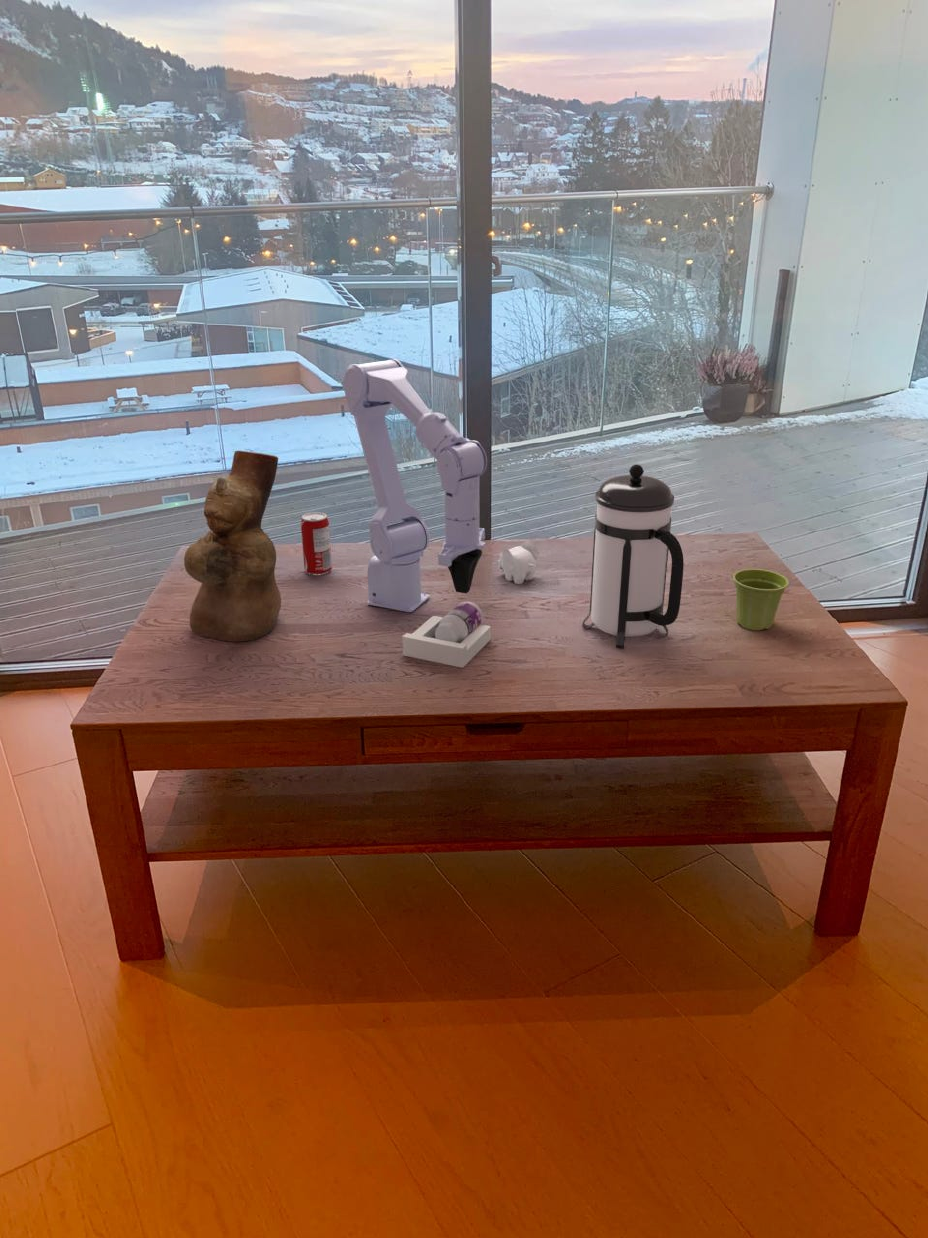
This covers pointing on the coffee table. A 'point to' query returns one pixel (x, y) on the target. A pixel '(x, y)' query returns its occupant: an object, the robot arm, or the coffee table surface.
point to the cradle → (444, 644)
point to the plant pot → (758, 597)
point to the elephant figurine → (518, 562)
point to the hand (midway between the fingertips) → (462, 591)
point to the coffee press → (634, 557)
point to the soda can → (316, 543)
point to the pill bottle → (459, 622)
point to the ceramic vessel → (236, 555)
